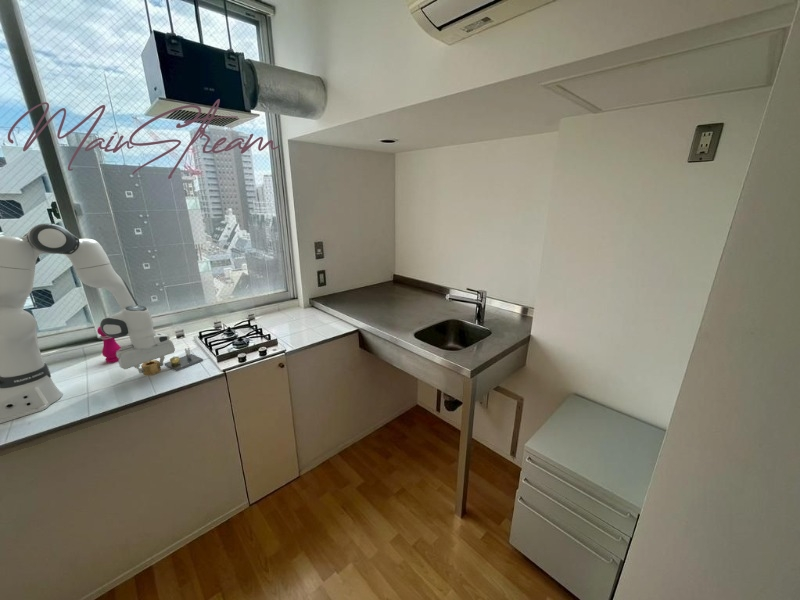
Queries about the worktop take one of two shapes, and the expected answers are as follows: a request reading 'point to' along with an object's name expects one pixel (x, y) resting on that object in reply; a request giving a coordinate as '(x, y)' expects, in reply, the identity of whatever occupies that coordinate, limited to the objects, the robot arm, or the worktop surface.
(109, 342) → the pepper mill
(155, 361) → the planet gear
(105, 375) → the worktop surface
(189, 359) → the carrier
